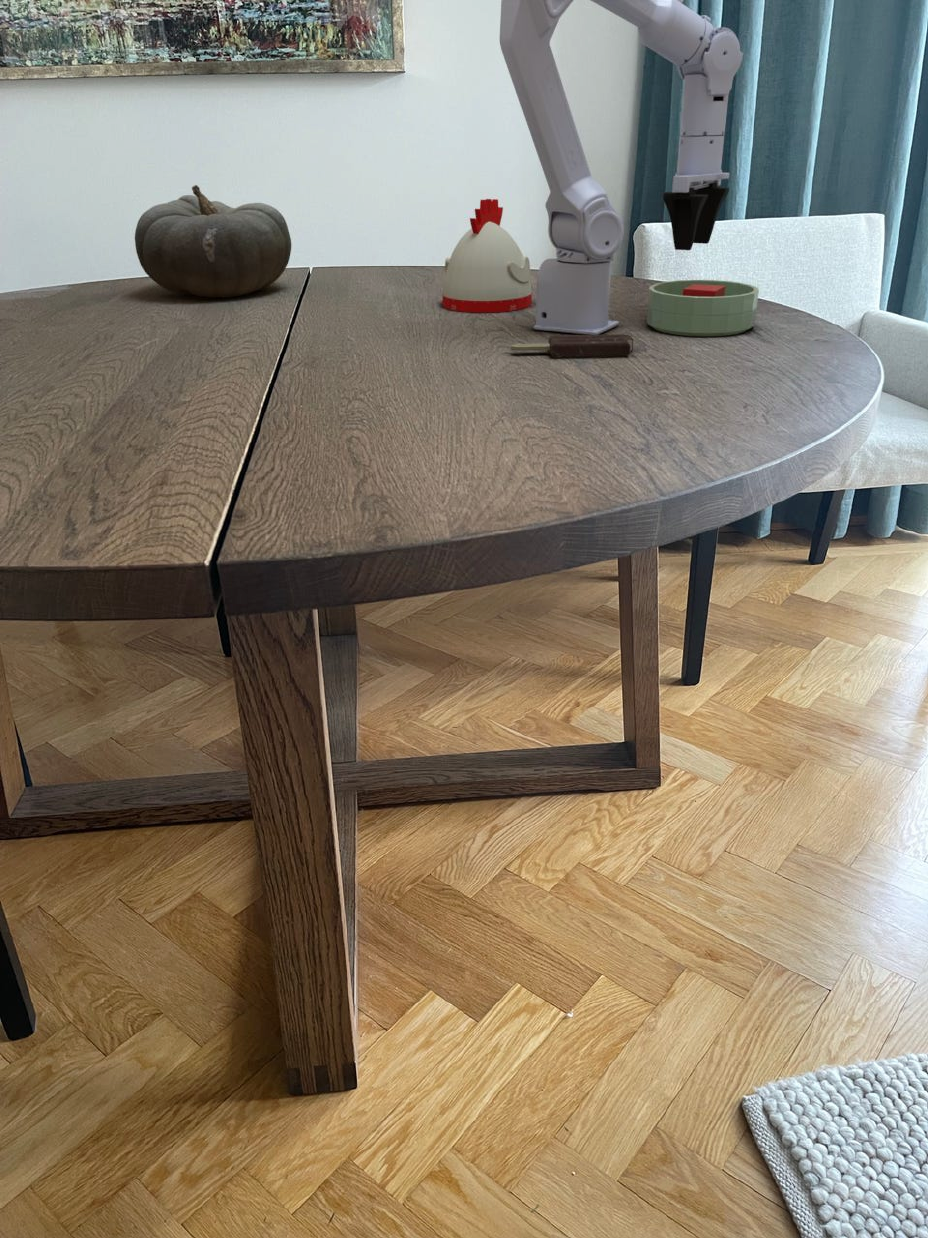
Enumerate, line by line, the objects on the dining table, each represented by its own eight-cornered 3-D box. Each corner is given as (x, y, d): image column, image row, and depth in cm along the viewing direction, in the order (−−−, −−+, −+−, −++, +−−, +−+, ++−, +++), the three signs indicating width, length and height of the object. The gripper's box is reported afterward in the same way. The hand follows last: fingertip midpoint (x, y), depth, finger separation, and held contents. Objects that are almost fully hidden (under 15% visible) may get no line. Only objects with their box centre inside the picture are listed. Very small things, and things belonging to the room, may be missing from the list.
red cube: (680, 324, 126) (683, 288, 124) (690, 318, 129) (693, 283, 127) (711, 326, 124) (715, 290, 122) (721, 321, 127) (725, 285, 125)
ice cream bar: (511, 359, 112) (636, 356, 112) (511, 345, 111) (636, 342, 111) (509, 349, 117) (629, 346, 117) (510, 336, 116) (630, 333, 116)
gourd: (177, 264, 173) (172, 162, 163) (307, 287, 172) (310, 187, 162) (116, 302, 153) (106, 189, 143) (263, 329, 151) (263, 217, 141)
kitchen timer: (547, 300, 147) (549, 196, 140) (503, 315, 137) (503, 204, 129) (472, 294, 153) (471, 194, 146) (425, 307, 143) (421, 201, 136)
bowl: (631, 331, 125) (633, 292, 122) (667, 313, 135) (670, 277, 133) (736, 341, 118) (741, 300, 116) (765, 321, 129) (770, 283, 127)
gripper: (715, 137, 115) (703, 254, 121) (747, 133, 126) (735, 241, 132) (660, 137, 118) (652, 251, 125) (697, 134, 129) (687, 239, 135)
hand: (692, 246), depth 129 cm, fingers open, 7 cm apart
